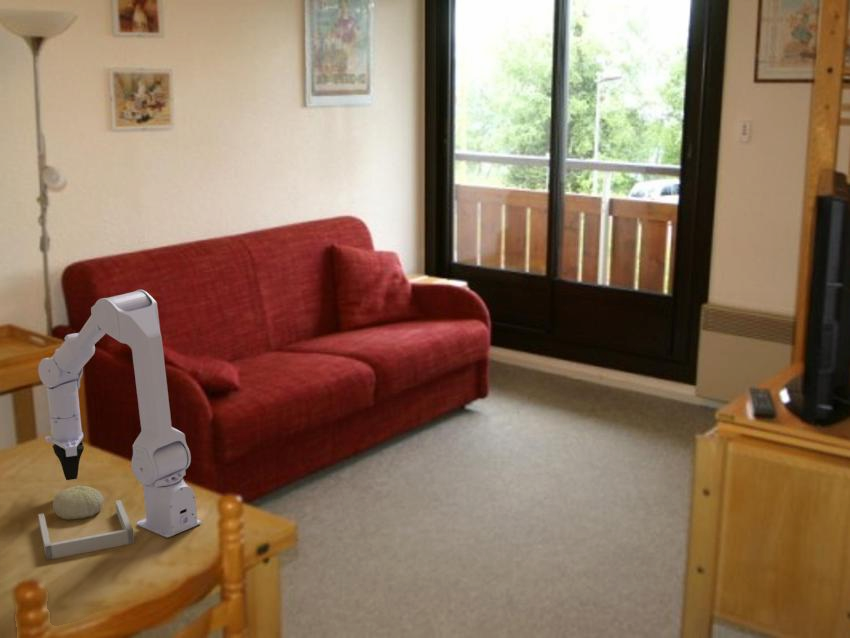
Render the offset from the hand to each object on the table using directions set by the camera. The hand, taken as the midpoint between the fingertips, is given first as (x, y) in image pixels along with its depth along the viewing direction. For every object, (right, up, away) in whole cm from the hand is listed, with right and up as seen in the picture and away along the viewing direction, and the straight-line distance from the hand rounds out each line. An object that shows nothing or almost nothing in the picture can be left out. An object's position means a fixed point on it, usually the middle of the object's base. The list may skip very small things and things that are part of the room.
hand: (71, 478), depth 212 cm
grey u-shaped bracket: (+9, -8, -18) cm, 22 cm away
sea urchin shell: (+4, -6, -8) cm, 11 cm away
